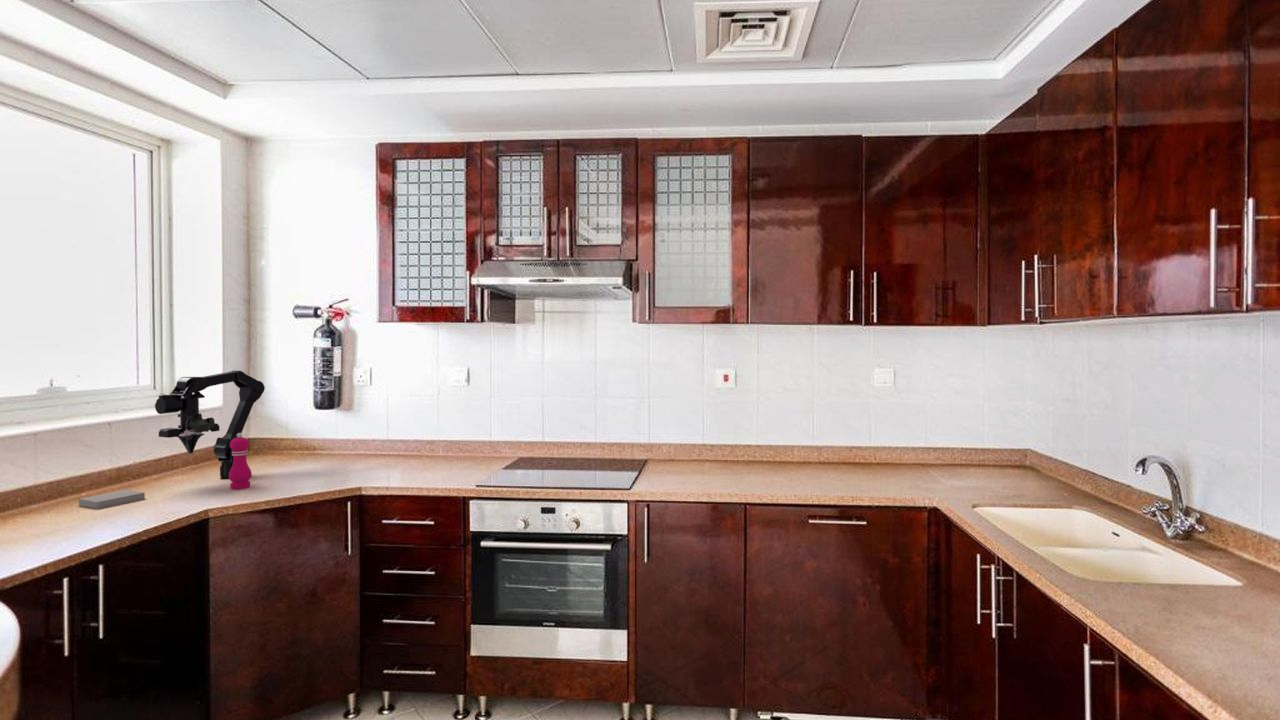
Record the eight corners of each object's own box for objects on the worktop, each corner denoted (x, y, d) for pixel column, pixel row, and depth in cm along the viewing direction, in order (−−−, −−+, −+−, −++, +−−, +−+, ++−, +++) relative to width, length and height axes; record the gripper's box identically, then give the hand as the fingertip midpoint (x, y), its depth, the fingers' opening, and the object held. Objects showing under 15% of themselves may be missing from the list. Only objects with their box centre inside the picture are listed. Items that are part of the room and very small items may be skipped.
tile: (126, 489, 227) (78, 498, 215) (144, 492, 224) (97, 502, 211) (126, 497, 228) (78, 507, 215) (144, 500, 224) (97, 510, 211)
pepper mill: (227, 490, 236) (226, 435, 235) (229, 486, 242) (228, 432, 241) (251, 488, 239) (250, 433, 238) (252, 484, 245) (251, 431, 245)
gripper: (177, 415, 230) (178, 459, 231) (229, 409, 247) (229, 450, 248) (157, 413, 234) (158, 457, 235) (209, 408, 251) (210, 448, 252)
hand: (190, 453), depth 242 cm, fingers closed
